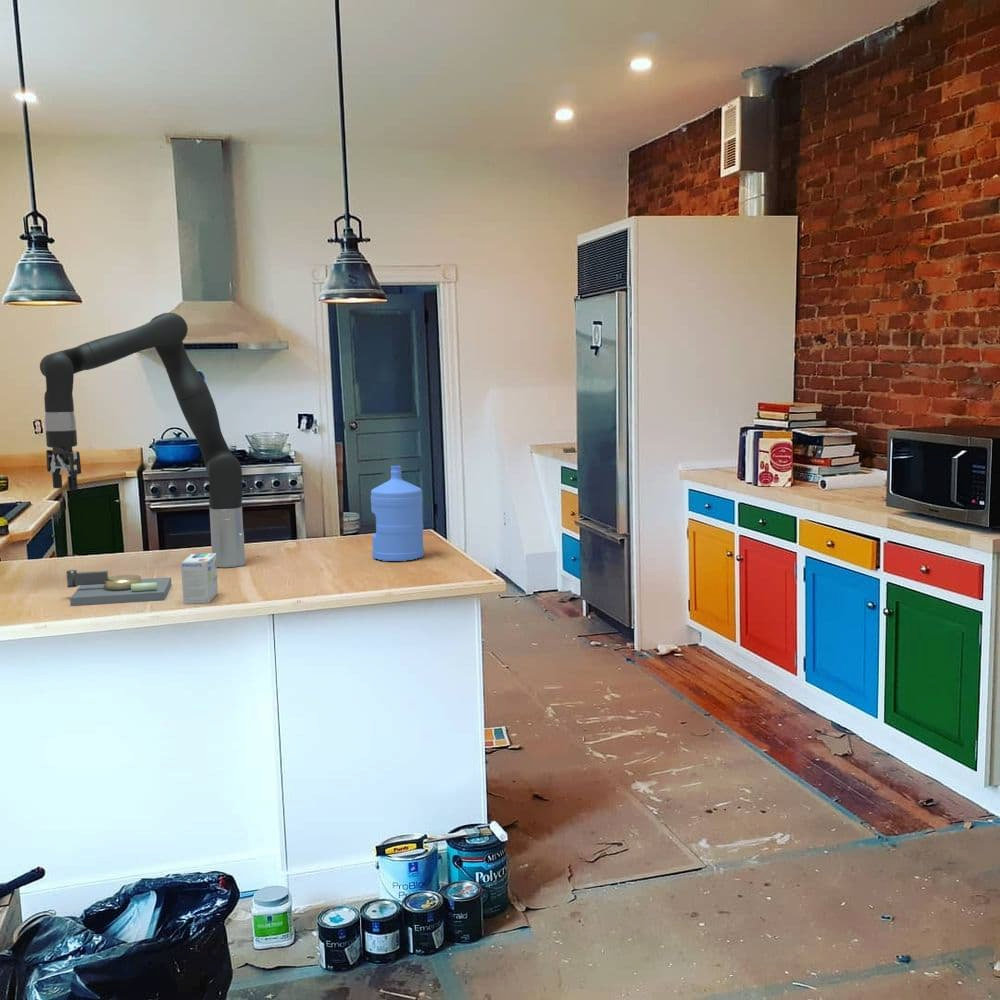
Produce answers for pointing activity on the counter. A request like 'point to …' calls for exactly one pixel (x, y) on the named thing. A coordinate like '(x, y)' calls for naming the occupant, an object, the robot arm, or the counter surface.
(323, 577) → the counter surface
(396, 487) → the water jug
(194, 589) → the light bulb box
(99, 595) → the instrument base
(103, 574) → the tan disc with handle
